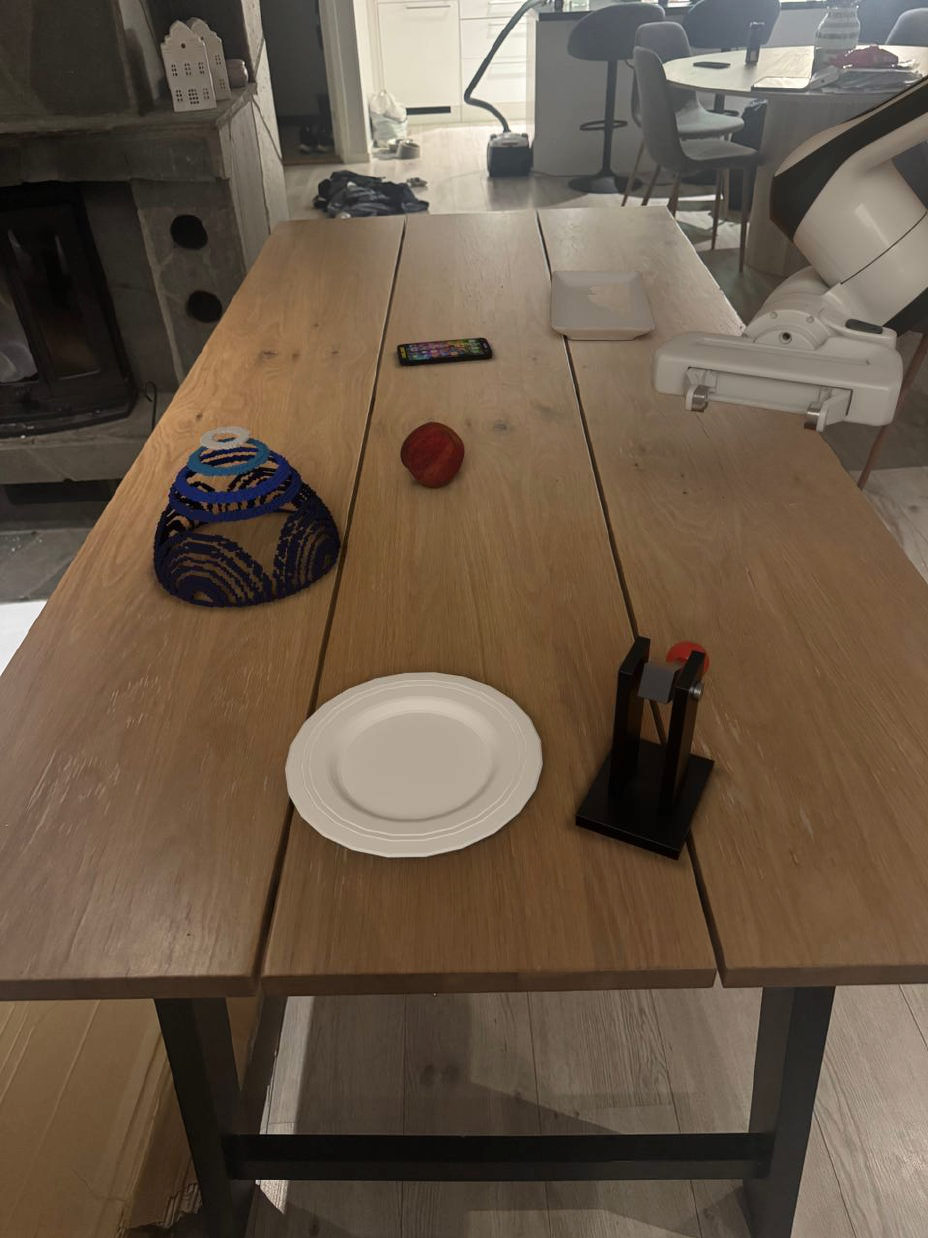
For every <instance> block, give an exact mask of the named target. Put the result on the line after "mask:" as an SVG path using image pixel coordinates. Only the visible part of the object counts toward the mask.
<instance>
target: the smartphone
mask: <svg viewBox="0 0 928 1238" xmlns="http://www.w3.org/2000/svg"><path fill="white" fill-rule="evenodd" d="M396 351H397V352H396V355H397V358H398V362H399V365H400V366H416V365H429V364H443V363H453V362H455V363H456V362H464V361H465V362H466V361H476V360H488V359H491V358H493V350H492V347H491V345H490V343H489V341H488V339H487V338H486V337H472V338H459V339H446V340H445V339H444V340H434V341H433V340H432V341H423V342H421V341H420V342H409V343H402V344H398V345H397V346H396Z"/></svg>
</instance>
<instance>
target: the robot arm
mask: <svg viewBox="0 0 928 1238" xmlns="http://www.w3.org/2000/svg"><path fill="white" fill-rule="evenodd" d="M927 140H928V74H926V75H924V76H923V77H921V78H919V79H918V80H916V81H914V82H912V83H910V84H909V85H908V86H905V87H904V88H903V89H901V90H899V91H897V92H896V93H894V94H892V95H891V96H889V97H887V98H886V99H884V100H882V101H880V102H879V103H877V104H875V105H874V106H872V107H870V108H868V109H867V110H865V111H863V112H861V113H859V114H857V115H854V116H853V117H851V118H849V119H846V120H845V121H843V122H840V123H839V124H837V125H835V126H832V127H829V128H827V129H825V130H823V131H820V132H818V133H817V134H815V135H813V136H811V137H810V138H808V139H807V140H805V141H804V142H803V143H802V144H800V145H799V146H798V147H796V148H795V149H794V150H793V151H792V152H791V153H790V154H789V155H788V156H787V157H786V158H785V160H784V161H782V162H781V164H780V166H779V167H778V169H777V170H776V172H775V173H774V174H773V175H772V177H771V182H770V188H769V197H768V211H769V212H768V215H769V220H770V221H771V222H772V223H773V225H775V226H776V227H777V229H778V230H779V231H780V232H782V234H783V235H784V236H785V237H786V238H787V239H788V240H789V241H790V242H791V243H792V244H793V243H794V244H795V245H796V247H797V248H798V250H799V251H800V252H801V253H802V254H803V256H804V258H806V260H807V261H808V262H809V264H810V265H808V266H806V267H804V268H802V269H799V270H798V271H796V272H795V273H793V274H792V275H790V276H789V277H787V278H786V279H785V280H783V281H782V282H781V283H780V284H779V285H778V286H777V287H776V288H775V289H774V290H773V291H772V292H771V294H770V295H769V296H768V297H767V299H766V300H765V301H764V302H763V305H762V306H761V308H760V309H759V310H758V311H757V312H756V314H754V316H753V317H752V319H751V320H750V322H748V325H747V326H746V327H745V329H743V331H742V333H741V334H740V335H734V334H733V335H732V334H725V333H724V334H723V333H718V332H710V331H709V332H708V331H697V330H693V331H691V330H690V331H685V332H682V333H679V334H676V335H675V336H673V337H671V338H670V339H669V340H667V341H666V342H664V343H663V344H662V345H660V347H658V348H657V349H656V350H655V352H653V356H652V362H651V370H650V371H651V372H650V386H651V388H652V389H653V390H654V391H655V392H657V393H658V394H662V395H669V396H675V397H682V398H684V399H685V406H684V410H685V411H686V412H694V413H701V414H704V413H705V411H706V410H707V408H708V406H709V402H713V403H722V404H726V405H727V404H728V405H735V406H741V407H746V408H754V409H761V410H767V411H773V412H779V413H786V414H792V415H800V416H805V417H804V418H805V420H804V423H803V430H806V431H807V430H808V431H813V432H819V433H823V432H824V431H825V428H826V426H830V425H833V424H837V423H840V422H845V423H852V424H858V425H865V426H871V427H884V426H887V425H890V424H891V423H892V422H893V420H894V416H895V412H896V410H897V405H898V401H899V398H900V393H901V389H902V384H903V379H904V365H903V358H902V356H901V354H900V353H899V351H898V350H897V349H896V348H897V339H898V338H900V337H901V336H902V335H904V334H906V333H907V332H908V331H911V329H913V328H914V327H916V326H917V325H918V324H919V323H920V322H922V321H923V320H924V319H925V318H926V317H928V209H927V208H926V207H925V205H924V203H922V201H921V200H920V199H919V197H918V196H917V194H916V193H915V191H913V189H912V188H911V186H910V185H909V184H908V183H907V181H906V180H905V178H904V177H903V176H902V174H901V173H900V172H899V171H898V169H897V168H896V166H895V164H894V162H893V161H892V160H893V159H892V158H894V157H896V156H898V155H899V154H901V153H903V152H906V151H907V150H909V149H911V148H913V147H915V146H917V145H919V144H921V143H923V142H925V141H927Z"/></svg>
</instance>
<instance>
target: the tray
mask: <svg viewBox="0 0 928 1238" xmlns="http://www.w3.org/2000/svg"><path fill="white" fill-rule="evenodd" d="M617 283H628V284H629V292H630V293H629V295H631V301H632V302H631V305H632V306H631V313H630V314H629V316H628V315H627V316H625V315H623V316H622V315H619V314H620V313H618V312H615V311H613V312H612V310H610V308H609V309H608V307H604V306H602V307H601V305H599V306H598V304H596V303H595V302H594V303H593V301H590V300H591V299H589V296H588V295H597V293H596V294H595V293H594V292H593V293H592V290H590V288H591V287H593V286H594V287H596V286H599V285H600V286H602V285H604V286H605V285H610V284H617ZM587 296H588V297H587ZM550 327H551V329H552V330H554V331H555V332H557V333H559V334H561V335H563V336H566V337H567V338H568V339H569V340H572V341H632V340H634V339H635V338H636V337H639V336H642V335H645V334H649V333H650V332H652V331H655V329H656V323H655V320H654V317H653V313H652V309H651V304H650V301H649V297H648V293H647V289H646V285H645V282H644V277H643V274H642V272H641V271H639V270H638V271H637V270H554V271H552V273H551V283H550Z"/></svg>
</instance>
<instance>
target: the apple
mask: <svg viewBox="0 0 928 1238" xmlns="http://www.w3.org/2000/svg"><path fill="white" fill-rule="evenodd" d="M465 452H466V450H465V444H464V441H463V439H462V438H461V437H460V435H458V433H456V432H455V430H454V429H453V428H451V427H450V426H448V425H447V424H444V423H442V422H437V421H431V422H426V423H423V424H421V425H418V427H416V428H414V429H413V430H412V431H411V432H410V433H409V434H408V436H407V437H406V438H405V439H404V440H403V442H402V445H401V448H400V452H399V457H400V461H401V463H402V465H403V466H404V467H405V469H407V470H408V472H409V473H410V474H411V476H412V477H413V478H414V479H415V480H416V481H417V482H418V483H419V484H421V485H423V486H425V487H428V488H440V487H443V486H445V485H447V484H449V483H450V482H451V481H452V480H453V479H454V478H455V477H456V475H457V474H458V473H459V470H460V469H461V466H462V464H463V461H464V458H465Z"/></svg>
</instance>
